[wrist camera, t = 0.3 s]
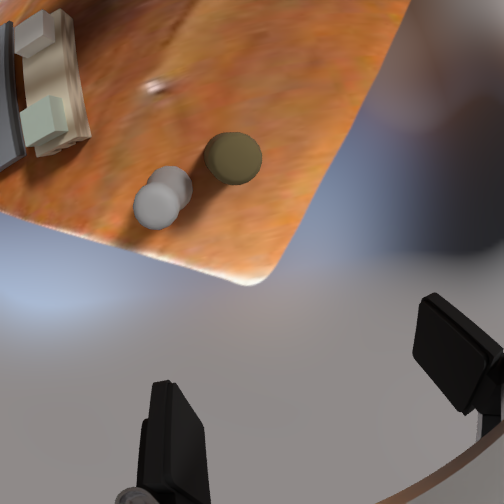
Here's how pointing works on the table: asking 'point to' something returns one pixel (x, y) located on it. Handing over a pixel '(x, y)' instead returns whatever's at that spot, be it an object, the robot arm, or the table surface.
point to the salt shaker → (162, 197)
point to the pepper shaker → (233, 158)
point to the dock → (9, 102)
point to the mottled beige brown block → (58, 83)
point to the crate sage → (43, 121)
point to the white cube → (34, 34)
